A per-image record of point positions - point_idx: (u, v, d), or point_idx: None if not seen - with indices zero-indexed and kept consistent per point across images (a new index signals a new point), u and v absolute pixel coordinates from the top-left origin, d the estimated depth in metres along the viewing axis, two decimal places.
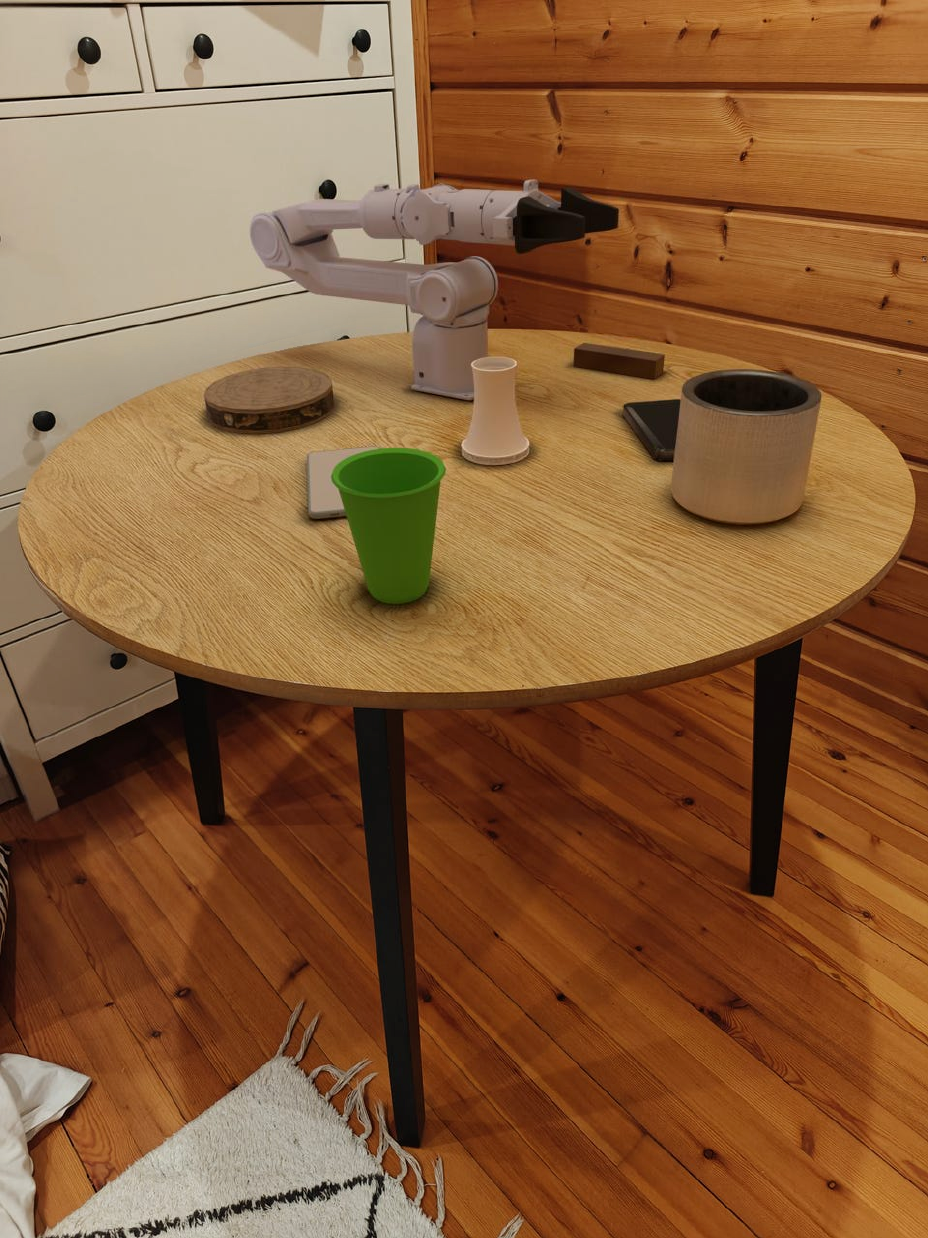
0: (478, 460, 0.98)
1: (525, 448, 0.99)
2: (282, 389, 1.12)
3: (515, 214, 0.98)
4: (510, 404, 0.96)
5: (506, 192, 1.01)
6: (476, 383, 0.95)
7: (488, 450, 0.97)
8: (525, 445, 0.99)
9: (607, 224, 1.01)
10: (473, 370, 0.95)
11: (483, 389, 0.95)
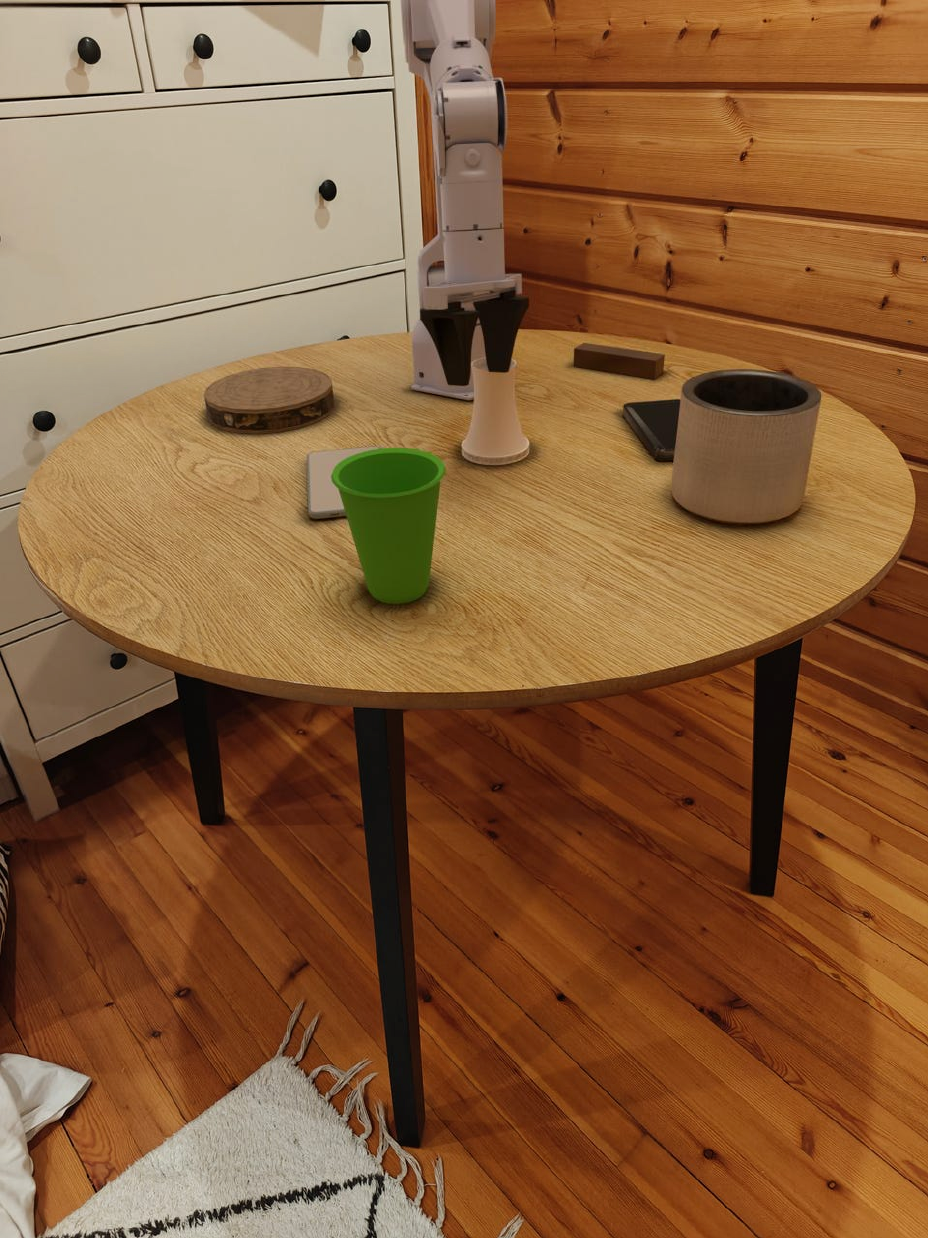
0: (478, 460, 0.98)
1: (525, 448, 0.99)
2: (282, 389, 1.12)
3: None
4: (510, 404, 0.96)
5: (494, 252, 0.83)
6: (476, 383, 0.95)
7: (488, 450, 0.97)
8: (525, 445, 0.99)
9: (491, 362, 0.92)
10: (473, 370, 0.95)
11: (483, 389, 0.95)
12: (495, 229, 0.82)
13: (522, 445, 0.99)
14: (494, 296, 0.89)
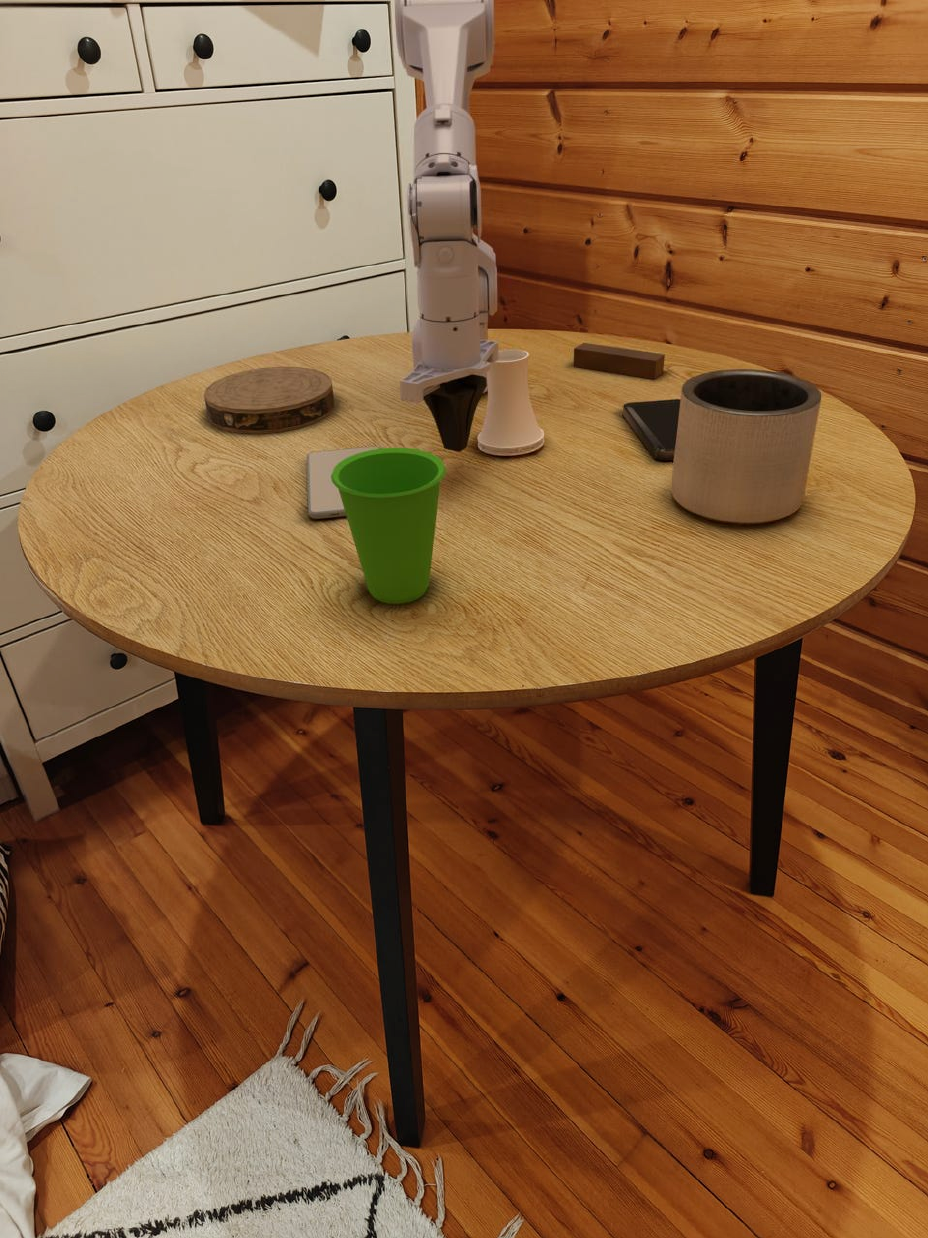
0: (501, 452, 0.99)
1: (542, 435, 1.01)
2: (282, 389, 1.12)
3: None
4: (526, 393, 0.98)
5: (470, 340, 0.85)
6: (492, 376, 0.97)
7: (511, 441, 0.99)
8: (541, 432, 1.01)
9: None
10: None
11: (501, 381, 0.96)
12: (470, 319, 0.84)
13: (539, 432, 1.01)
14: None
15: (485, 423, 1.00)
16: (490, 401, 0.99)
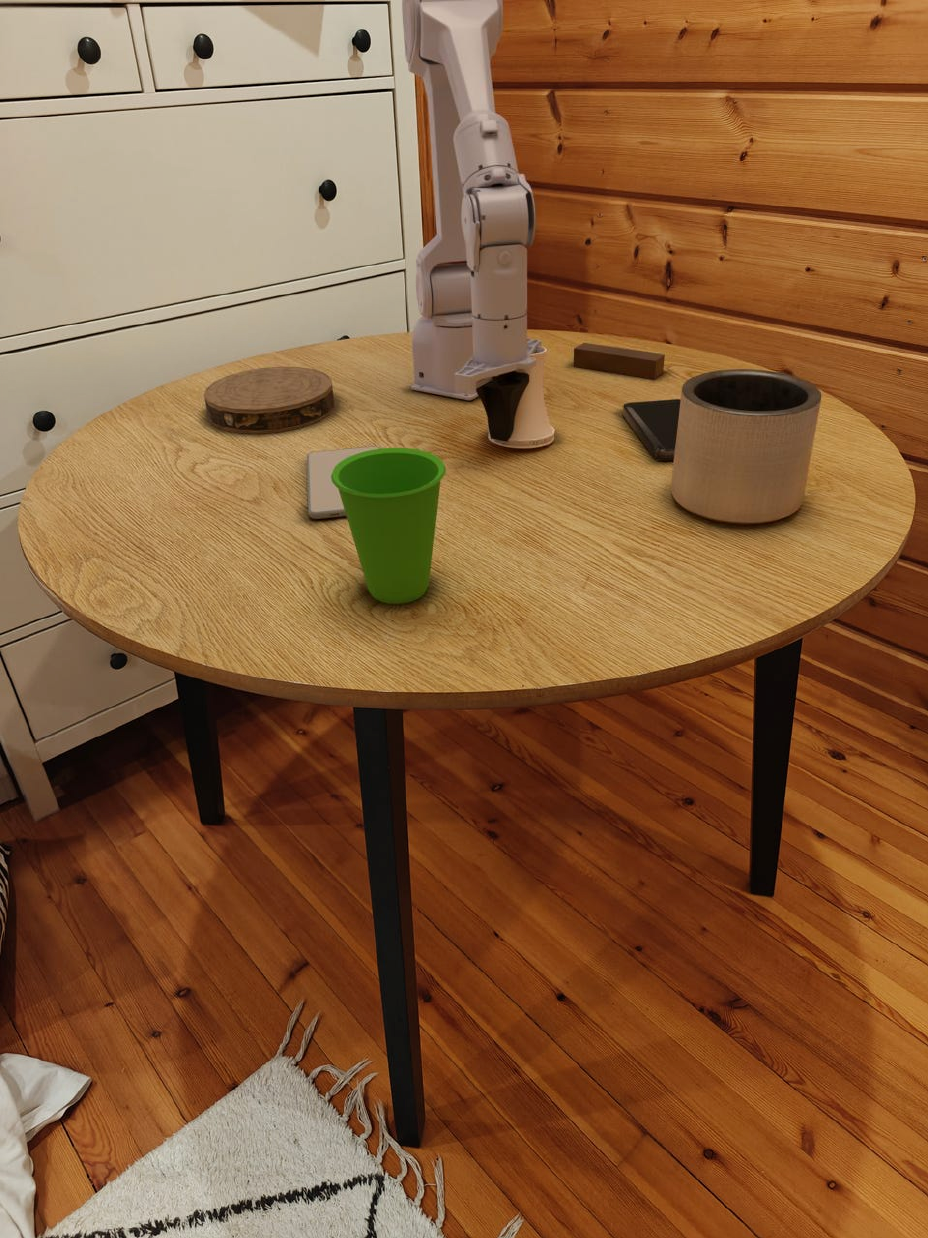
0: (514, 445, 1.00)
1: (553, 431, 1.02)
2: (282, 389, 1.12)
3: None
4: (541, 388, 0.99)
5: (518, 337, 0.92)
6: None
7: (525, 433, 1.00)
8: (551, 428, 1.03)
9: (493, 431, 1.00)
10: None
11: None
12: (519, 318, 0.91)
13: (550, 428, 1.02)
14: None
15: None
16: None
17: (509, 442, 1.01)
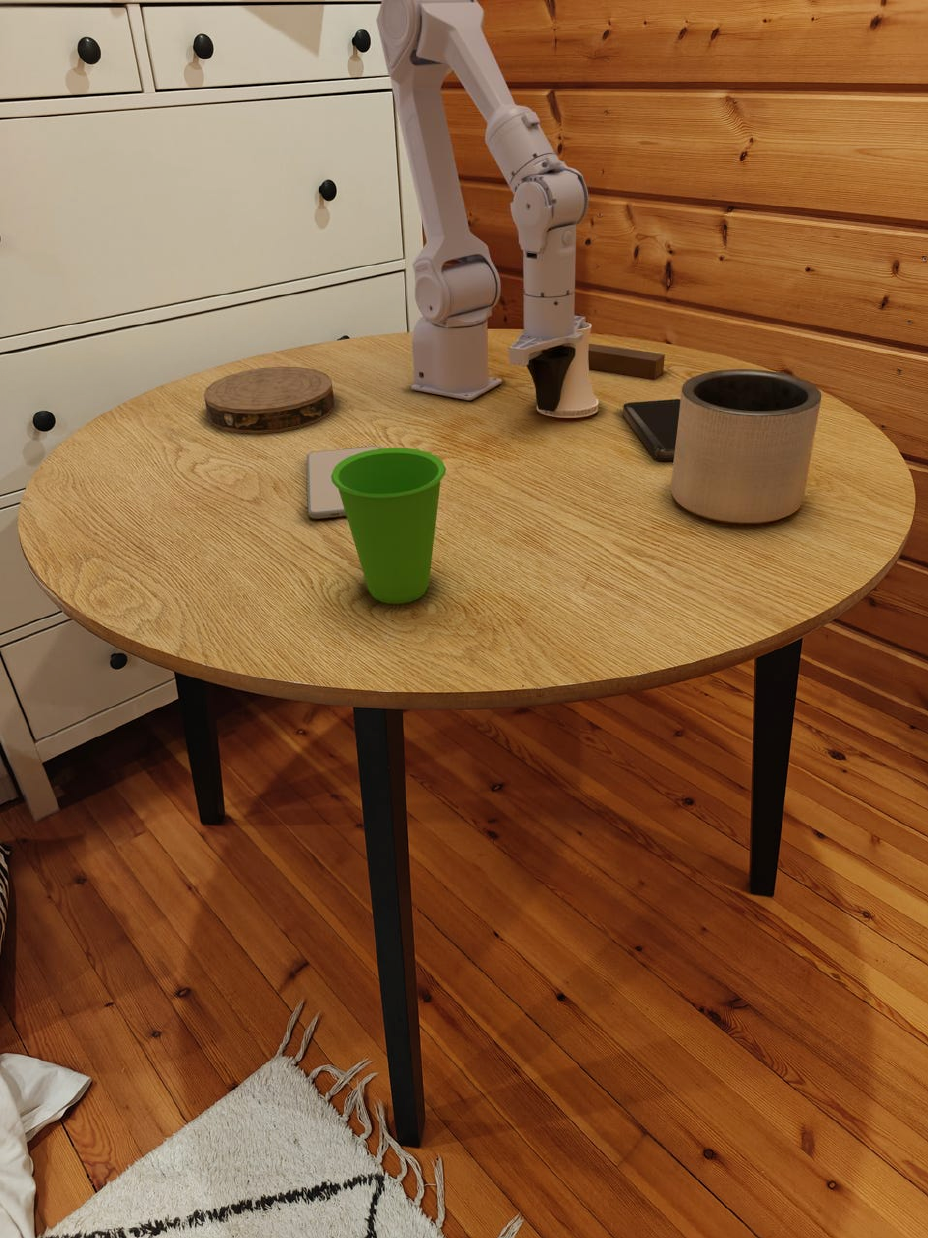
0: (560, 414, 1.08)
1: (597, 402, 1.09)
2: (282, 389, 1.12)
3: None
4: (586, 361, 1.07)
5: (567, 313, 1.00)
6: None
7: (570, 404, 1.07)
8: (596, 400, 1.10)
9: (541, 401, 1.07)
10: None
11: None
12: (568, 295, 0.99)
13: (595, 399, 1.09)
14: None
15: None
16: None
17: (555, 412, 1.08)
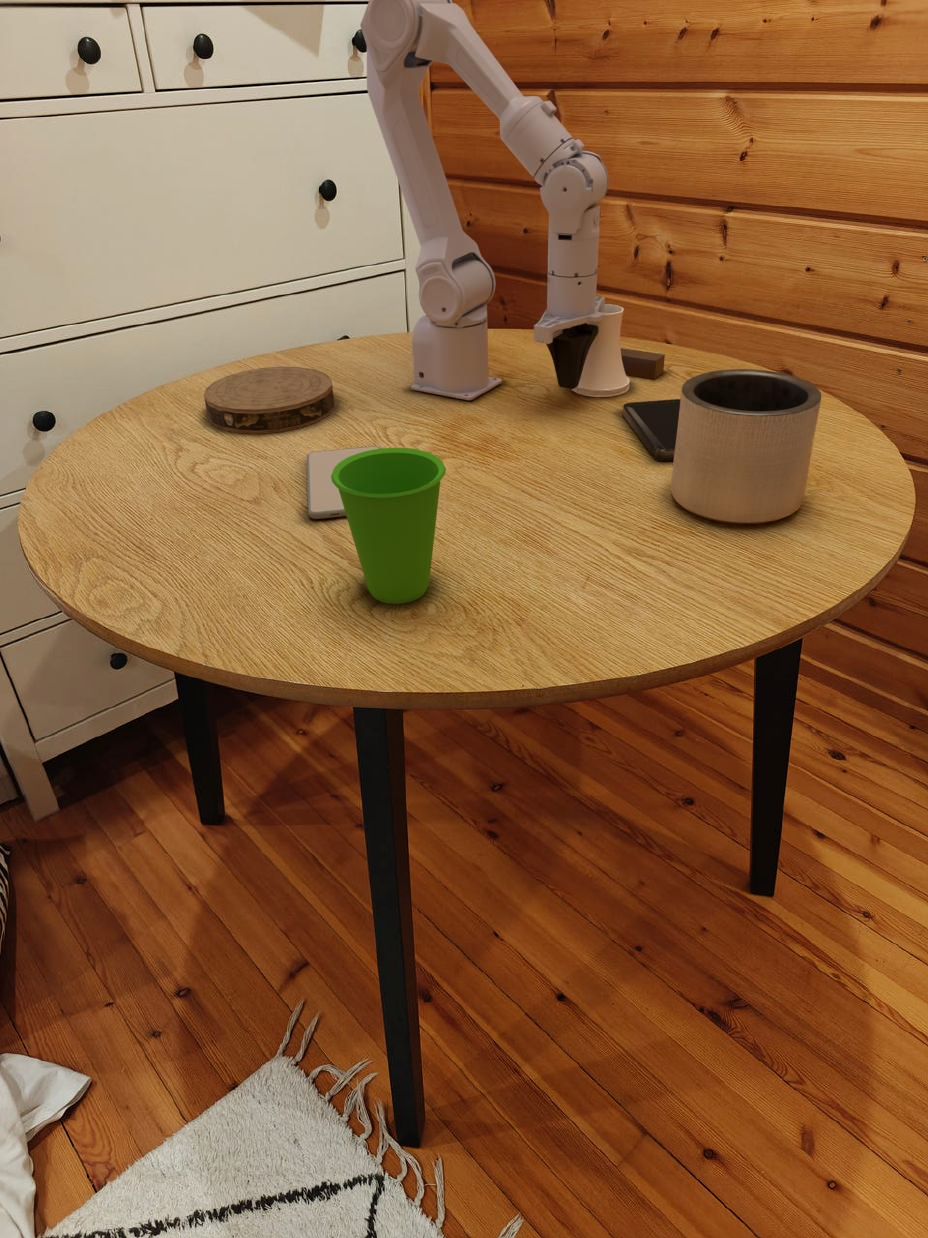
0: (593, 394, 1.14)
1: (628, 381, 1.16)
2: (282, 389, 1.12)
3: None
4: (619, 343, 1.13)
5: (590, 293, 1.04)
6: None
7: (603, 384, 1.14)
8: (627, 379, 1.16)
9: None
10: None
11: (599, 331, 1.11)
12: (591, 275, 1.03)
13: (626, 378, 1.16)
14: None
15: None
16: None
17: (589, 391, 1.15)
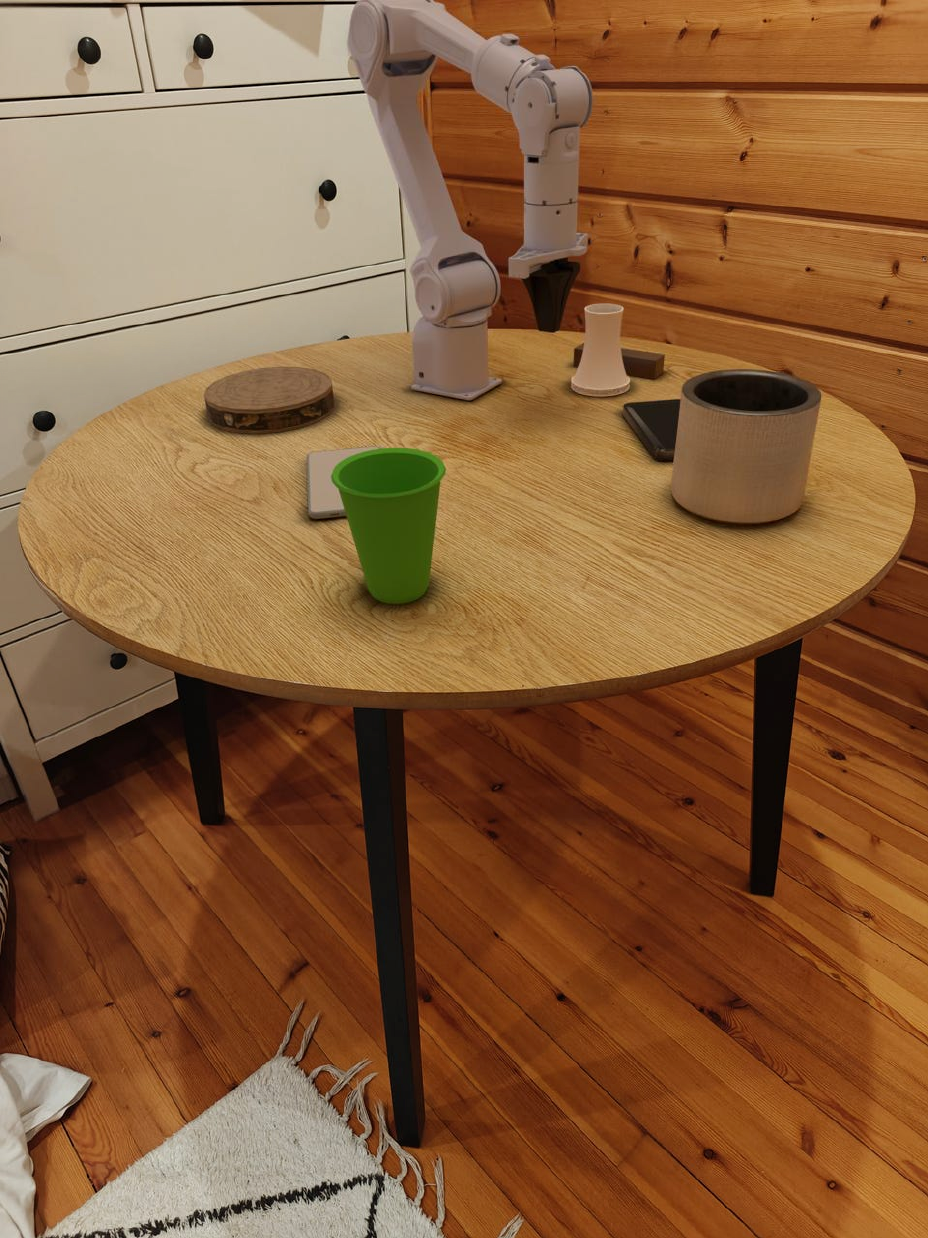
0: (593, 393, 1.14)
1: (628, 380, 1.16)
2: (282, 389, 1.12)
3: None
4: (619, 342, 1.13)
5: (570, 223, 0.95)
6: (591, 326, 1.11)
7: (603, 383, 1.14)
8: (627, 378, 1.16)
9: None
10: (589, 315, 1.11)
11: (599, 330, 1.11)
12: (571, 203, 0.94)
13: (626, 378, 1.16)
14: None
15: (580, 367, 1.15)
16: (587, 348, 1.13)
17: (589, 391, 1.15)
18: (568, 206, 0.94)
